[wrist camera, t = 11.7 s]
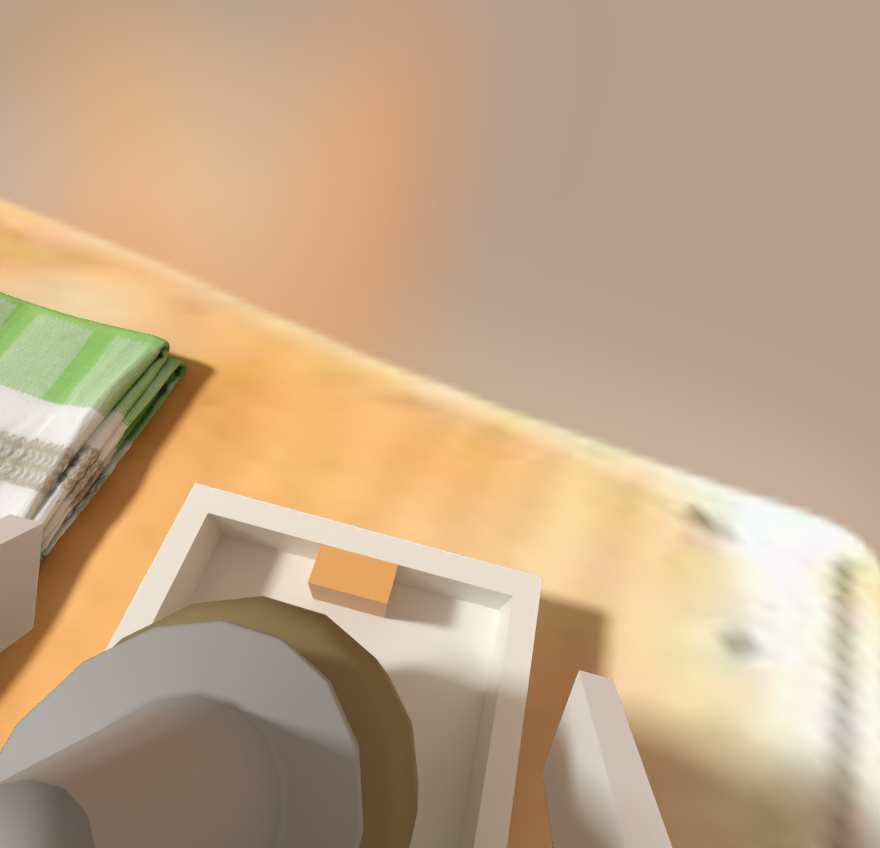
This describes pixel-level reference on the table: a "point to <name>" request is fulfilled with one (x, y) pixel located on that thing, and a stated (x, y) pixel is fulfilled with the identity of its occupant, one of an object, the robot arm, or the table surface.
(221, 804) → the squeeze bottle
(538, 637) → the table surface
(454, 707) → the tray
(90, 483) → the dish towel
